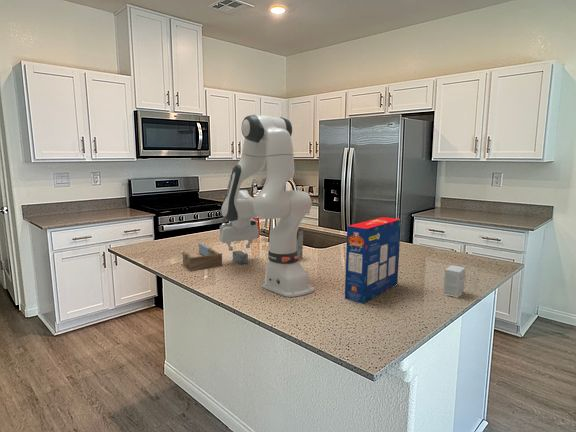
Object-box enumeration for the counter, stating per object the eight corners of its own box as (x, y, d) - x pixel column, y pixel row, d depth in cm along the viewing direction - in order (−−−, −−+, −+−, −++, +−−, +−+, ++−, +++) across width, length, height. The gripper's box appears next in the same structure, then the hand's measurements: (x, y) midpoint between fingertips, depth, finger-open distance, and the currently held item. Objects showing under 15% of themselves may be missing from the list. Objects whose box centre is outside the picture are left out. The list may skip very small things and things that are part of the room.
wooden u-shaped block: (222, 266, 184) (221, 253, 183) (190, 271, 176) (190, 258, 175) (211, 259, 195) (211, 248, 194) (181, 264, 187) (181, 252, 186)
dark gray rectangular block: (247, 264, 188) (247, 254, 188) (240, 265, 186) (240, 255, 185) (239, 260, 196) (239, 250, 195) (232, 261, 194) (232, 251, 193)
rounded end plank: (209, 259, 195) (208, 248, 194) (198, 252, 207) (198, 242, 206) (211, 259, 196) (211, 248, 195) (201, 252, 208) (201, 242, 207)
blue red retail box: (379, 280, 166) (383, 216, 161) (397, 284, 160) (401, 219, 156) (344, 298, 145) (347, 225, 140) (363, 304, 140) (366, 228, 135)
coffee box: (281, 259, 198) (282, 228, 195) (287, 256, 203) (287, 226, 201) (297, 261, 193) (298, 230, 191) (303, 258, 199) (303, 228, 196)
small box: (449, 289, 155) (451, 264, 153) (463, 292, 152) (465, 267, 150) (442, 295, 149) (444, 269, 147) (457, 298, 145) (460, 272, 144)
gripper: (222, 225, 180) (222, 253, 182) (260, 221, 191) (260, 248, 193) (217, 222, 185) (217, 250, 187) (254, 219, 196) (254, 245, 198)
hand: (239, 249), depth 190 cm, fingers open, 8 cm apart
